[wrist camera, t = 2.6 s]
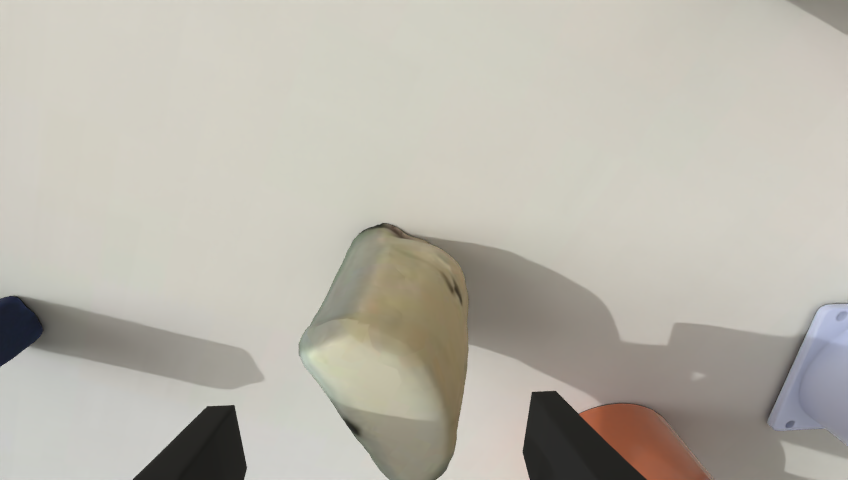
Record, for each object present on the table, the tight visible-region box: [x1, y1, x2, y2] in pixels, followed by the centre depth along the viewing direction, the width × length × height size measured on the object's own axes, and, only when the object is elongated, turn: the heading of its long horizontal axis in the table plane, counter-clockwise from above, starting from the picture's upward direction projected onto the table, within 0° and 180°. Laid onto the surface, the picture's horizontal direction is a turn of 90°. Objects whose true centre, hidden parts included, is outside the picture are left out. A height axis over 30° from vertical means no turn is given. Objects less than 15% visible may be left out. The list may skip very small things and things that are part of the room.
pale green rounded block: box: [299, 223, 469, 480], centre depth 13 cm, size 6×5×8 cm
